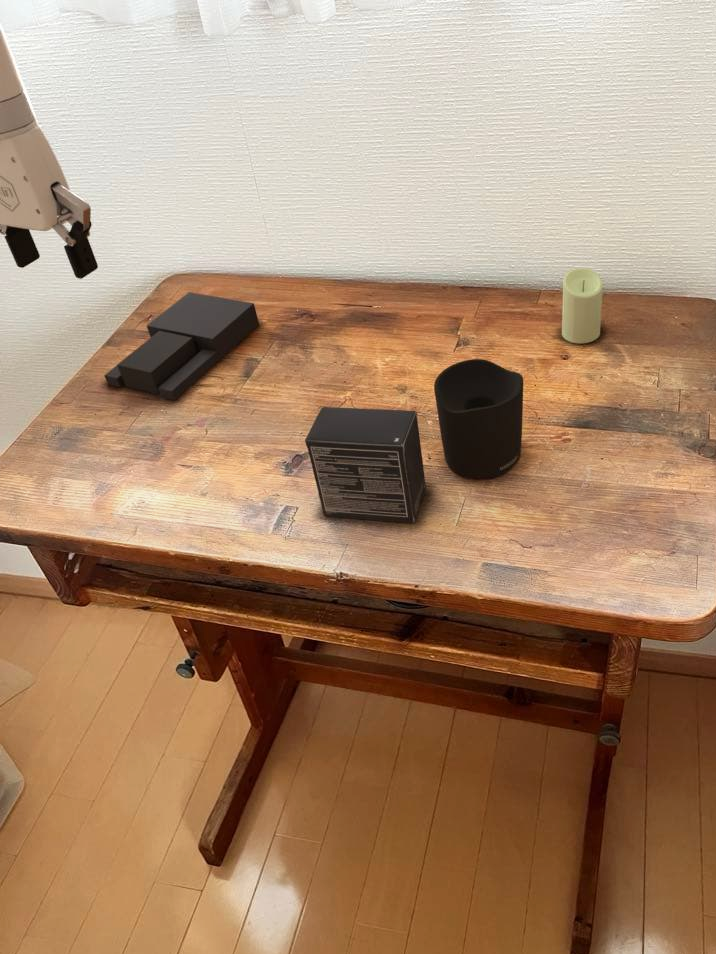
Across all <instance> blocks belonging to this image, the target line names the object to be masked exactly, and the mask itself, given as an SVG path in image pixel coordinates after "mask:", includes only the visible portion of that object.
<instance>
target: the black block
mask: <svg viewBox="0 0 716 954" xmlns="http://www.w3.org/2000/svg"><path fill="white" fill-rule="evenodd" d="M197 354H198V353H197V350H196V347H195V344H194V341H193V338H192V337H187V336H182V335H177V334H172V333H167V332H162V331H158V332H157V333H156V334H155V335H153V336H152V337H149V338H148V339H147V340H146V341H145V342H143V343H141V345H140V346H138V347H137V348H136V349H135V350H133V351H132V352H131V353H129V354H128V355H127V356H126V357H125V358H124V359H122V360H121V361H120V362H118V363H117V364H116V365H117V366H118V369H119V371H120V374H121V376H122V379H123V381H124V386H125V387H126V388H131V389H134V390H139V391H143V392H146V393H151V394H155V395H160V393H159V390H158V387H160V386H161V385H162V384H163V383H164V382H165V381H167V380H168V379H169V378H170V377H171V376H172V375H173V374H175V373H176V372H177V371H178V370H179V369H180V368H182V367H183V366H184V365H185V364H186V363H187V362H188V361H190V360H191V359H192V358H193V357H194V356H195V355H197Z"/></svg>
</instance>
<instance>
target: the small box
mask: <svg viewBox="0 0 716 954" xmlns="http://www.w3.org/2000/svg"><path fill="white" fill-rule="evenodd" d="M418 421H419V420H418V413H417V411H416V410H409V409H408V410H407V409H406V410H405V409H383V408H361V407H359V408H358V407H335V406H322V407H321V408H320V410H319V412H318V414H317V416H316V418H315V420H314V422H313V423H312V425H311V427H310V429H309V431H308V433H307V435H306V437H305V439H304V442H305V445H306V448H307V452H308V455H309V459H310V464H311V468H312V471H313V476H314V477H313V478H314V481H315V484H316V489H317V493H318V498H319V501H320V505H321V512H322V515H323V517H330V518H331V517H333V518H343V519H344V518H345V519H355V520H356V519H358V520H369V521H382V522H383V521H384V522H394V523H396V522H397V523H408V524H414V523H416V521H417V519H418V514H419V510H420V508H421V504H422V502H423V498H424V497H425V493H426V489H427V484H426V477H425V471H424V470H425V469H424V461H423V454H422V447H421V446H422V445H421V438H420V429H419V422H418Z"/></svg>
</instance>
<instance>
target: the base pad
mask: <svg viewBox="0 0 716 954" xmlns="http://www.w3.org/2000/svg"><path fill="white" fill-rule="evenodd" d="M259 325H260V321H259V318H258V314H257V310H256V307H255V303H254V302H249V301H243V300H237V299H231V298H225V297H219V296H215V295H209V294H203V293H197V292H191V291H189V292H187V293H186V294H185V295H184V296H182V297H181V298H180V299H178V300H177V301H175V302H174V303H173V304H172V305H170V306H169V307H168V308H167V309H166V310H164V311H163V312H162V313H161V314H159V315H158V316H157V317H155V318H154V319H153V320H152V321H150V322H149V323H147V324H146V329H147V332H148V334H149V338H151V337H152V336H153V335H155V334H156V333H157V332H158V331H162V332H167V333H172V334H177V335H182V336H187V337H192V338H193V341H194V344H195V347H196V350H197V353H198V354H197V355H195V356H194V357H193V358H192V359H191V360H190V361H188V362H187V363H186V364H185V365H184V366H183V367H182V368H180V369H179V370H178V371H177V372H176V373H175V374H173V375H172V376H171V377H170V378H169V379H168V380H167V381H165V382H164V383H163V384H162V385H161V386H160V387H158V390H159V393H160V394H159V395H160V397H161V398H162V399H167V400H171V401H176V400H177V399H179V398H180V397H181V396H182V395H183V394H184V393H185V392H186V391H187V390H189V388H191V387H192V386H193V385H194V384H195V383H196V382H198V381H199V380H200V379H201V378H202V377H203V376H204V375H205V374H206V373H208V371H210V370H211V369H212V368H213V367H214V366H215V365H216V364H217V363H219V362H220V361H221V360H222V359H223V358H224V357H225V356H227V354H228V353H230V352H231V351H232V350H233V349H234V348H235V347H236V346H237V345H238V344H240V343H241V342H243V340H244V339H245V338H247V337H248V336H249V334H251V333H252V332H253V331H254V330H255V329H256V328H257V327H259ZM103 376H104V379H105V381H106V383H107V385H109V386H113V387H118V388H122V387H123V386H125V384H124V381H123V379H122V376H121V374H120V371H119V369H118V366H117V364H116V365H115V366H114V367H113V368H111V369H110V370H109V371H108V372H106V373H105V374H104V375H103Z"/></svg>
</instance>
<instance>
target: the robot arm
mask: <svg viewBox="0 0 716 954" xmlns="http://www.w3.org/2000/svg"><path fill="white" fill-rule="evenodd" d="M91 208H92V207H91V205H90V204H89V203H88V202H87V201H85V200H84V199H82V198H81V197H79V196H78V195H76V194H75V193H74V192H72V191H71V189H70V186H69V183H68V181H67V179H66V176H65V174H64V171H63V169H62V166H61V164H60V162H59V161H58V157H57V156H56V154H55V151H54V150H53V148H52V146H51V144H50V142H49V140H48V138H47V136H46V133H44V131H43V128H42V127H41V126H40V125H39V123H38V118H37V117H36V113H35V111H34V109H33V106H32V103H31V101H30V97H29V95H28V92H27V90H26V87H25V84H24V81H23V79H22V77H21V74H20V71H19V68H18V66H17V63H16V61H15V57H14V54H13V52H12V50H11V47H10V44H9V42H8V38H7V36H6V34H5V31H4V28H3V26H2V23H1V22H0V235H2V236H3V237H4V240H5V241H6V244H7V246H8V248H9V251H10V253H11V255H12V257H13V260H14V262H15V264H16V267H18V268H20V269H21V268H22V269H23V268H24V269H25V268H26V267H27V266H29V265H30V264H32V263H34V262H35V261H38V260H39V259H40V256H41V254H40V253H39V250H38V248H37V244H36V242H35V240H34V238H33V236H32V233H31V231H37V232H49V231H51V230H52V229H53V230H54V231H55V232H56V234H57V235H58V236H59V237H60V238H61V239H62V240H63V241H64V243H66V244H65V245H64V246H63V249H64V252H65V254H66V256H67V259H68V262H69V264H70V267H71V269H72V271H73V275H74V277H75V278H76V279H80V280H82V279H84V278H85V277H87V276H89V275H90V274H92V273H93V272H94V271H96V270H98V267H99V264H98V262H97V259H96V256H95V254H94V251H93V249H92V245H91V243H90V240H89V237H90V235H91V232H90V231H91V229H92V221H91V218H92V217H91V212H92V209H91ZM66 223H69V224H70V227H71V228H70V230H68V229H67V227H66V226H65V225H64V224H66ZM30 230H31V231H30Z"/></svg>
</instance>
